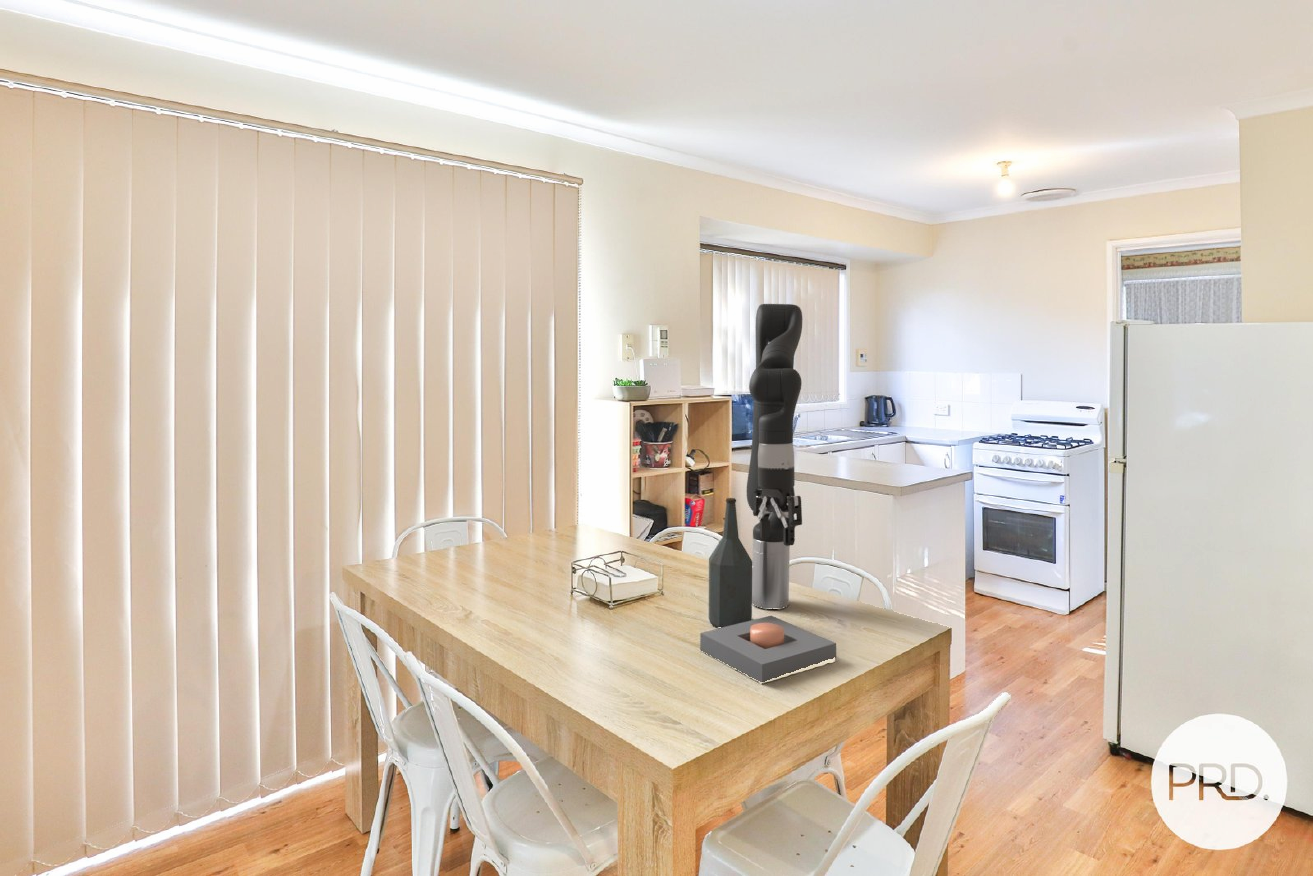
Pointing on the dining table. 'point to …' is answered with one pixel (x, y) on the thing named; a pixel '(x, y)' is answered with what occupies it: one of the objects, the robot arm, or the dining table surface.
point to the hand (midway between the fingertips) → (776, 541)
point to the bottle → (730, 576)
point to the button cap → (766, 635)
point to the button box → (769, 662)
